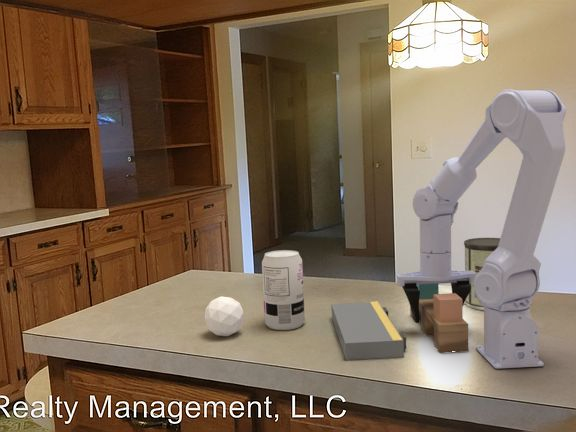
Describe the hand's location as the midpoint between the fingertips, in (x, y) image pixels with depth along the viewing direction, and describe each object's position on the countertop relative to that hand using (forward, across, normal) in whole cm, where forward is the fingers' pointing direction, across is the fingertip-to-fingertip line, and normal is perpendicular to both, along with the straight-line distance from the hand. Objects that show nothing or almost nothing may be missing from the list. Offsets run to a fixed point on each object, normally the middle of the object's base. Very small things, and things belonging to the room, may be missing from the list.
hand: (436, 320), depth 113 cm
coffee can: (+2, -16, -16) cm, 23 cm away
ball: (+3, +41, -5) cm, 41 cm away
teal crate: (-3, 0, -7) cm, 8 cm away
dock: (+2, +14, 0) cm, 14 cm away
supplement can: (+2, +29, -9) cm, 30 cm away
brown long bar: (+2, 0, 0) cm, 2 cm away
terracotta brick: (-3, 0, +8) cm, 8 cm away
